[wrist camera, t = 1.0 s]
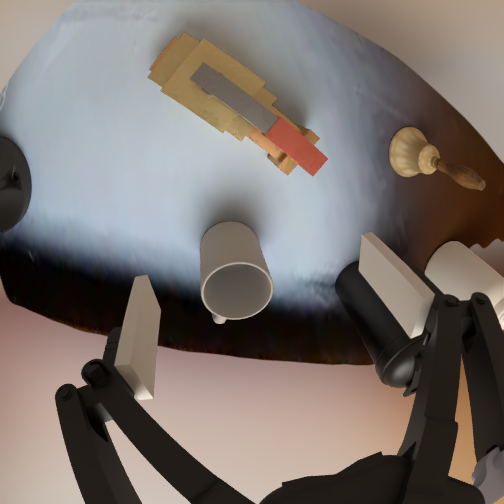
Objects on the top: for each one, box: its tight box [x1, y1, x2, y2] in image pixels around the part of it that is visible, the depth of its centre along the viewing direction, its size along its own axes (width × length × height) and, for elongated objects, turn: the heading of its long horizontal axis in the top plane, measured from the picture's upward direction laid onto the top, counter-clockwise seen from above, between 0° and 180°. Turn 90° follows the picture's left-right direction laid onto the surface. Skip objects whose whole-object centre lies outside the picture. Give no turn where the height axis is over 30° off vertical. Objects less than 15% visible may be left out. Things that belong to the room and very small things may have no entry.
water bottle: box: [335, 261, 428, 397], centre depth 40 cm, size 10×10×23 cm
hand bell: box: [389, 127, 485, 190], centre depth 33 cm, size 8×8×16 cm
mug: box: [200, 221, 273, 324], centre depth 39 cm, size 12×8×11 cm
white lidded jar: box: [425, 241, 504, 330], centre depth 44 cm, size 12×12×20 cm
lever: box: [190, 62, 328, 176], centre depth 26 cm, size 15×2×4 cm, turn 51°
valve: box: [148, 32, 320, 175], centre depth 30 cm, size 20×7×7 cm, turn 51°
